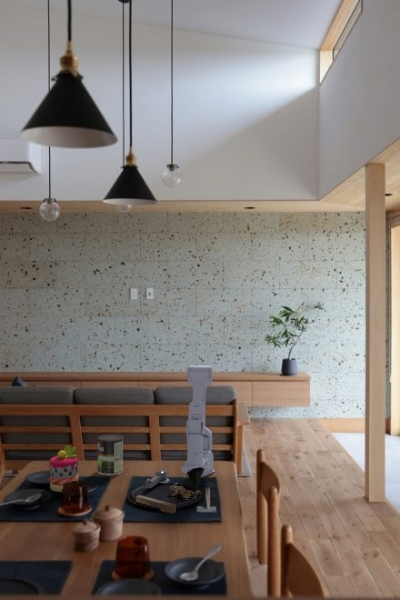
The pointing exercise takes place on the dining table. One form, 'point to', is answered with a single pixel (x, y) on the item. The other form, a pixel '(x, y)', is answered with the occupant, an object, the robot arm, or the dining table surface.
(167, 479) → the crank base plate
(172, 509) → the brown wooden bar
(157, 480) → the crank
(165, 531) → the dining table surface
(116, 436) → the coffee can
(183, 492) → the frog figurine
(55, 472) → the cake
